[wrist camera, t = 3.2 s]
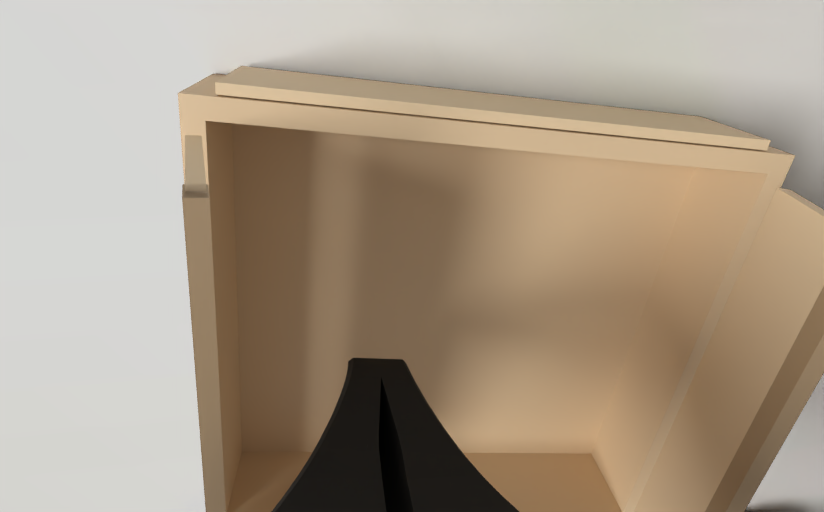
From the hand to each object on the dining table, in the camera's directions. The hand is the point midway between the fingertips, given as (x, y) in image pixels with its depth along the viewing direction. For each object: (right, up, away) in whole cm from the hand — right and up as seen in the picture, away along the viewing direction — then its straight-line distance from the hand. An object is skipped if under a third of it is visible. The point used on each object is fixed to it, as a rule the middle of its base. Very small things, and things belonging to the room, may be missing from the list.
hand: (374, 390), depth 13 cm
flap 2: (+9, 0, +2) cm, 9 cm away
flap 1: (-4, +1, 0) cm, 4 cm away
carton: (+2, +2, +4) cm, 5 cm away
